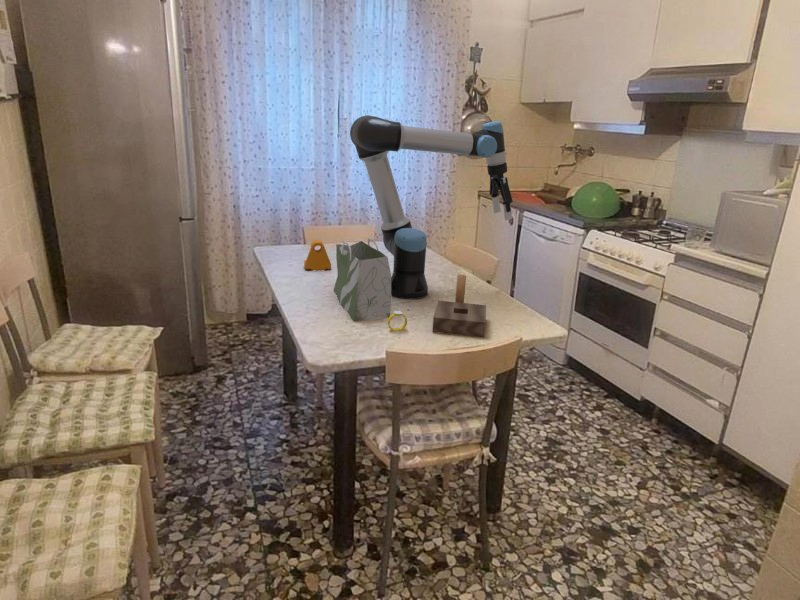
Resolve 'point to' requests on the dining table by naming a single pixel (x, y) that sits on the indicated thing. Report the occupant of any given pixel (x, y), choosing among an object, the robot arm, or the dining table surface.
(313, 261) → the bracket
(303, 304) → the dining table surface
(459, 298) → the peg
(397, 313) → the yellow ring
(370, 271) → the grocery bag
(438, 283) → the dining table surface
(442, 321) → the socket block
